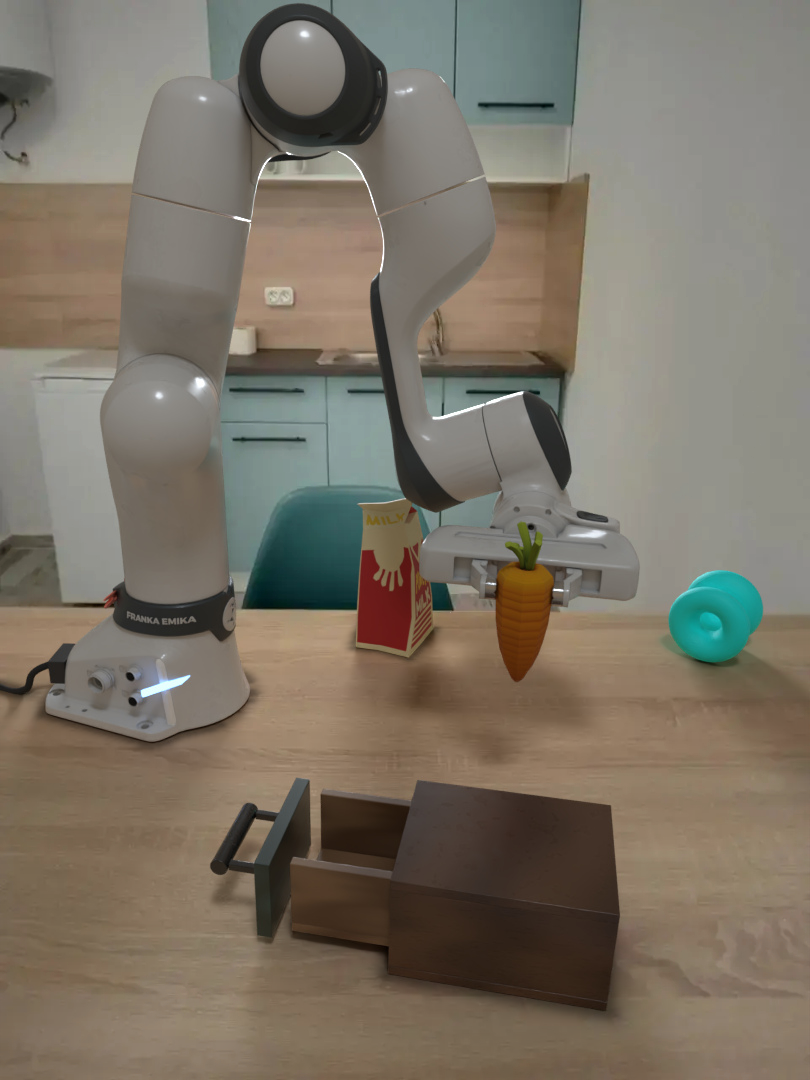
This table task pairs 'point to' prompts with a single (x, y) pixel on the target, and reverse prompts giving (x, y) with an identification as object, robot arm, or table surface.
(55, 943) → the table surface
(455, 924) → the cabinet
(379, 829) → the drawer
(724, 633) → the turquoise spool
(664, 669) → the table surface
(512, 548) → the carrot
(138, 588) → the robot arm
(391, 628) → the milk carton
